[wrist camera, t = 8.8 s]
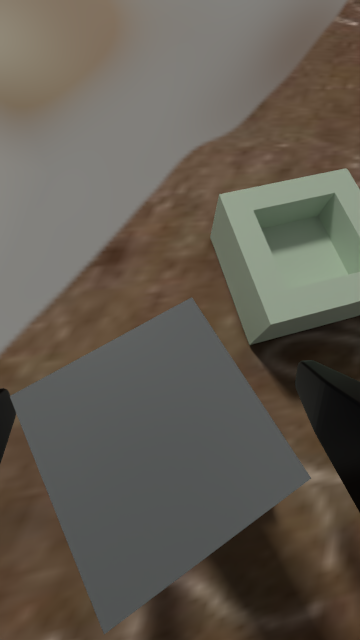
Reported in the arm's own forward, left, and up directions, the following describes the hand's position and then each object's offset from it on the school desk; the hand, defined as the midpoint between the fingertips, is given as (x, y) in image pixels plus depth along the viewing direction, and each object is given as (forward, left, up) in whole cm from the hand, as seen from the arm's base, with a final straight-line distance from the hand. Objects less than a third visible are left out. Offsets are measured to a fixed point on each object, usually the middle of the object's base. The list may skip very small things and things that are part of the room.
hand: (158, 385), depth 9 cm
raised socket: (+6, -10, -8) cm, 14 cm away
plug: (-1, 0, -8) cm, 8 cm away
